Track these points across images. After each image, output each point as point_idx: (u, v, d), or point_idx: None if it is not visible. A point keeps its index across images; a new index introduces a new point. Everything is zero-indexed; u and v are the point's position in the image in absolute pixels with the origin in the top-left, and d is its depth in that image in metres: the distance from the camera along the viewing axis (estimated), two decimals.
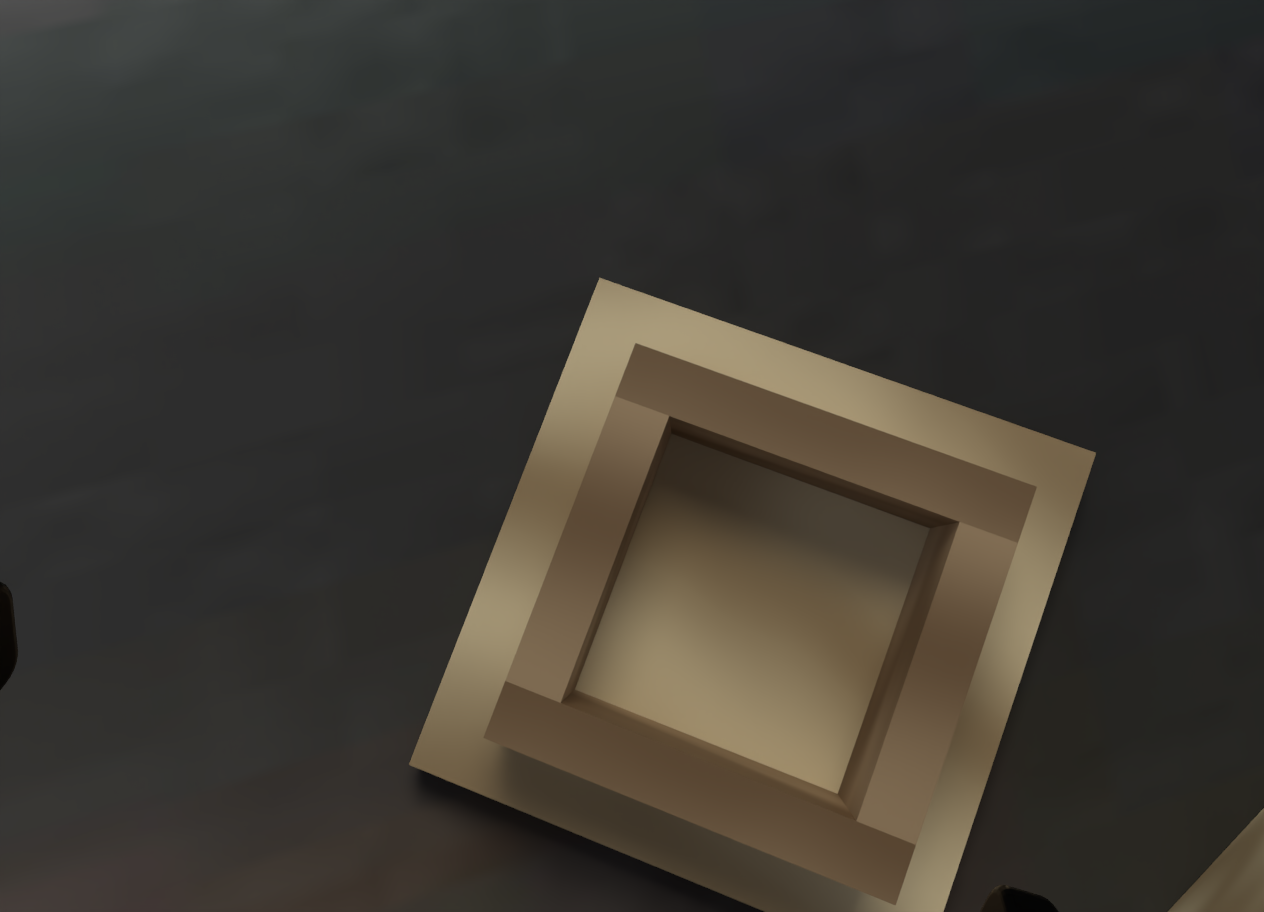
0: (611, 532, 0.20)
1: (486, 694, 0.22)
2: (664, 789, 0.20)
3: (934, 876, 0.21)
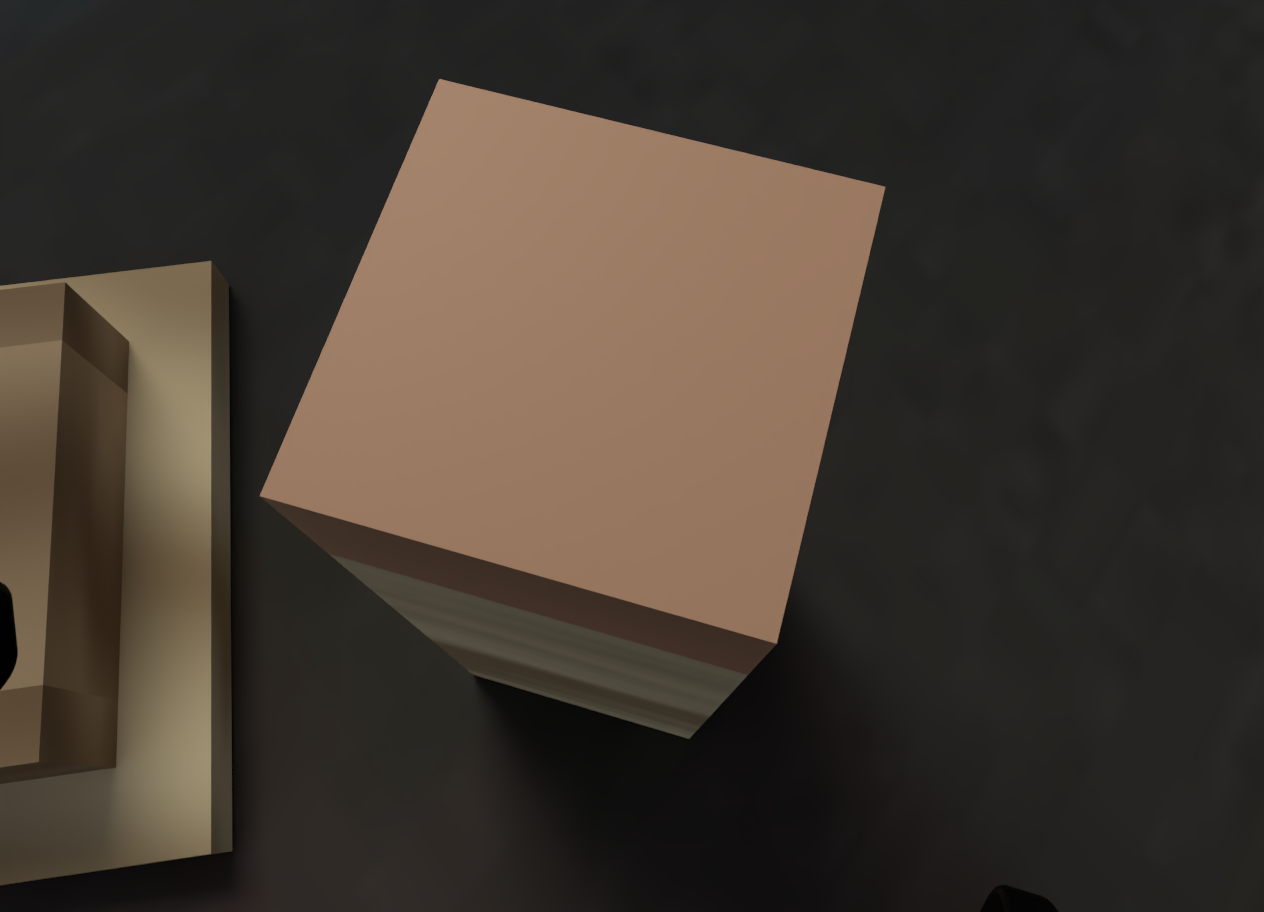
0: None
1: None
2: None
3: (188, 738, 0.18)
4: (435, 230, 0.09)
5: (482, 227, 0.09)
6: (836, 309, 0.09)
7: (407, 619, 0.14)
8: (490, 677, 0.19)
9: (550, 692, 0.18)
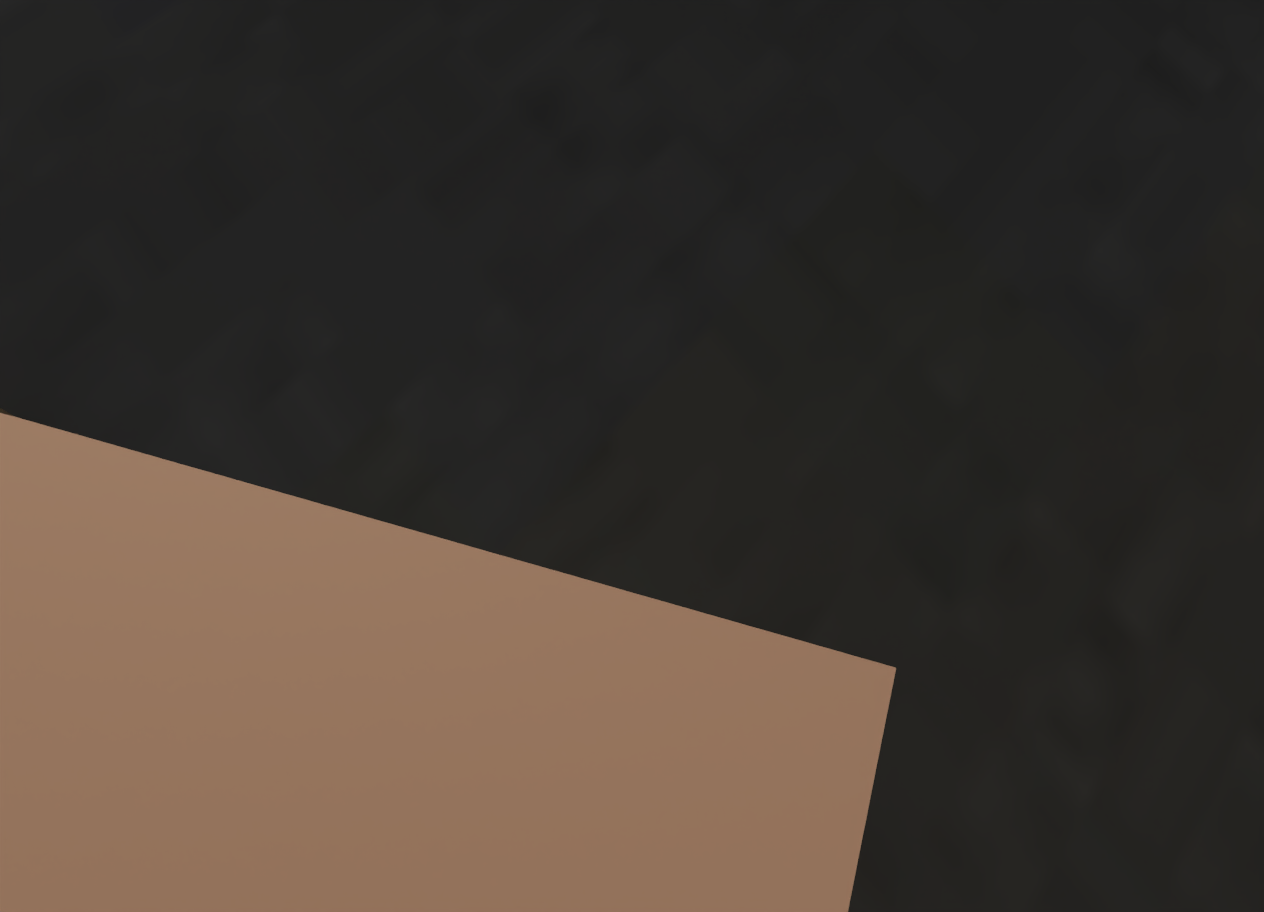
0: None
1: None
2: None
3: None
4: None
5: None
6: None
7: None
8: None
9: None
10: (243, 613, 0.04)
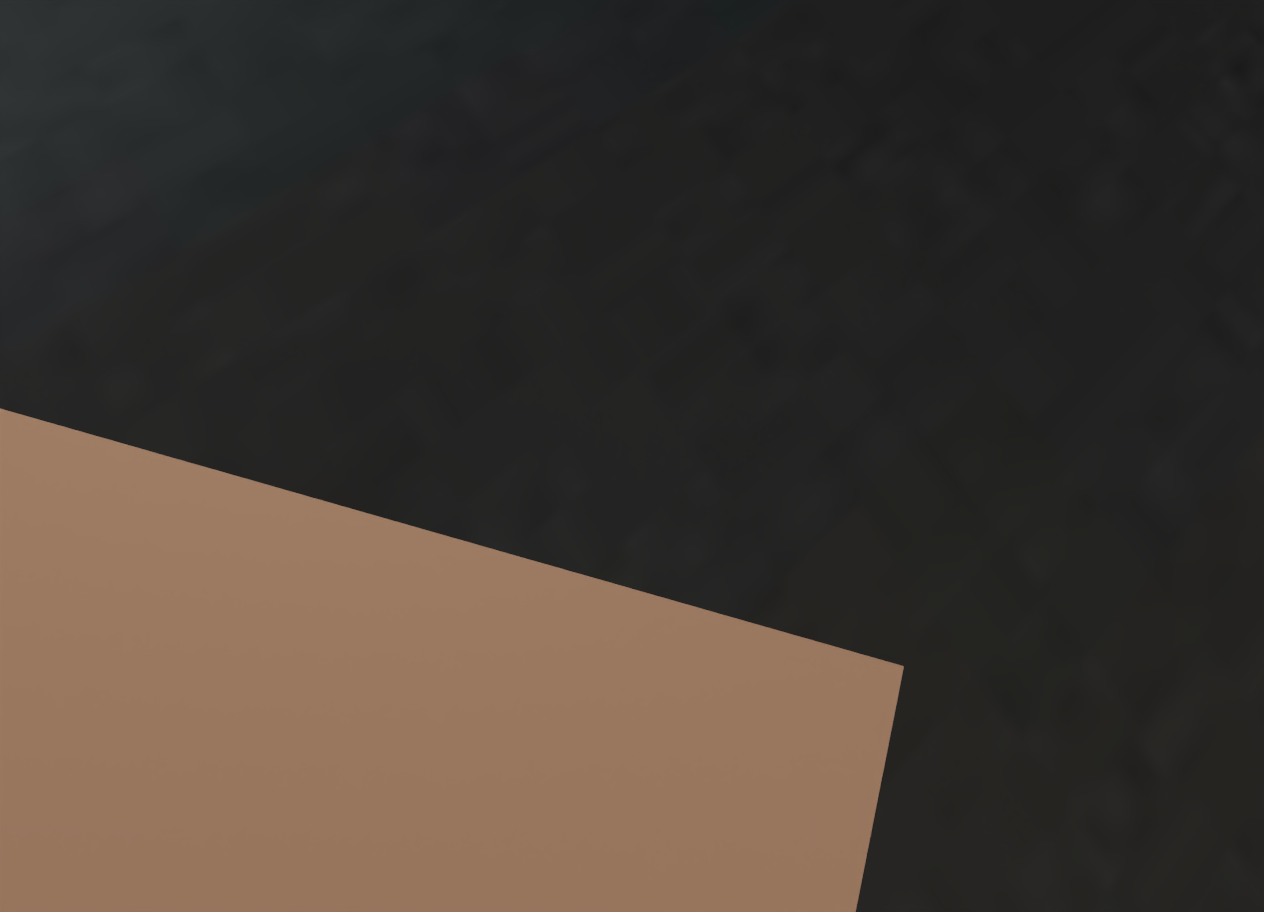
0: None
1: None
2: None
3: None
4: None
5: None
6: None
7: None
8: None
9: None
10: (251, 612, 0.04)
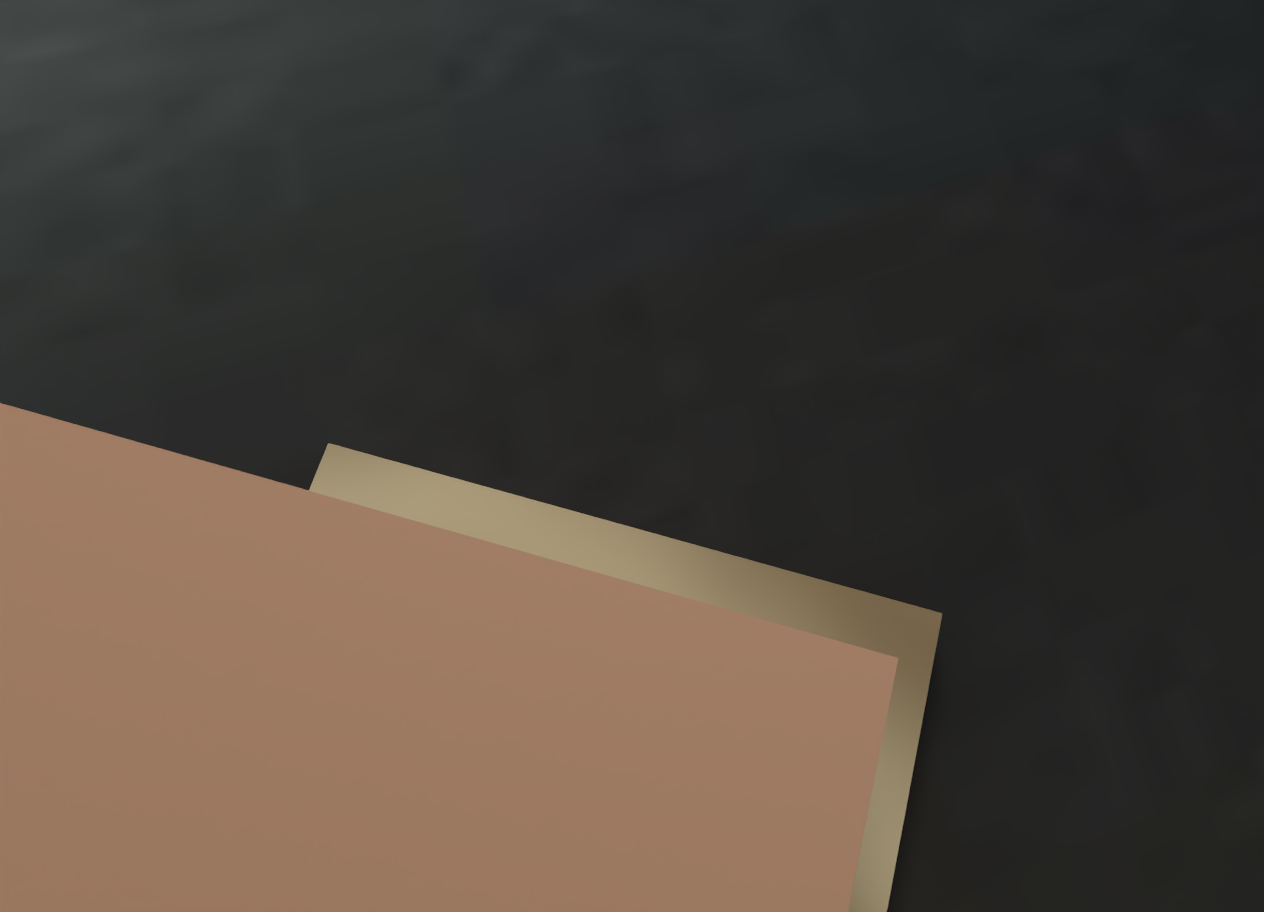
0: None
1: None
2: None
3: None
4: None
5: None
6: None
7: None
8: None
9: None
10: (245, 604, 0.04)
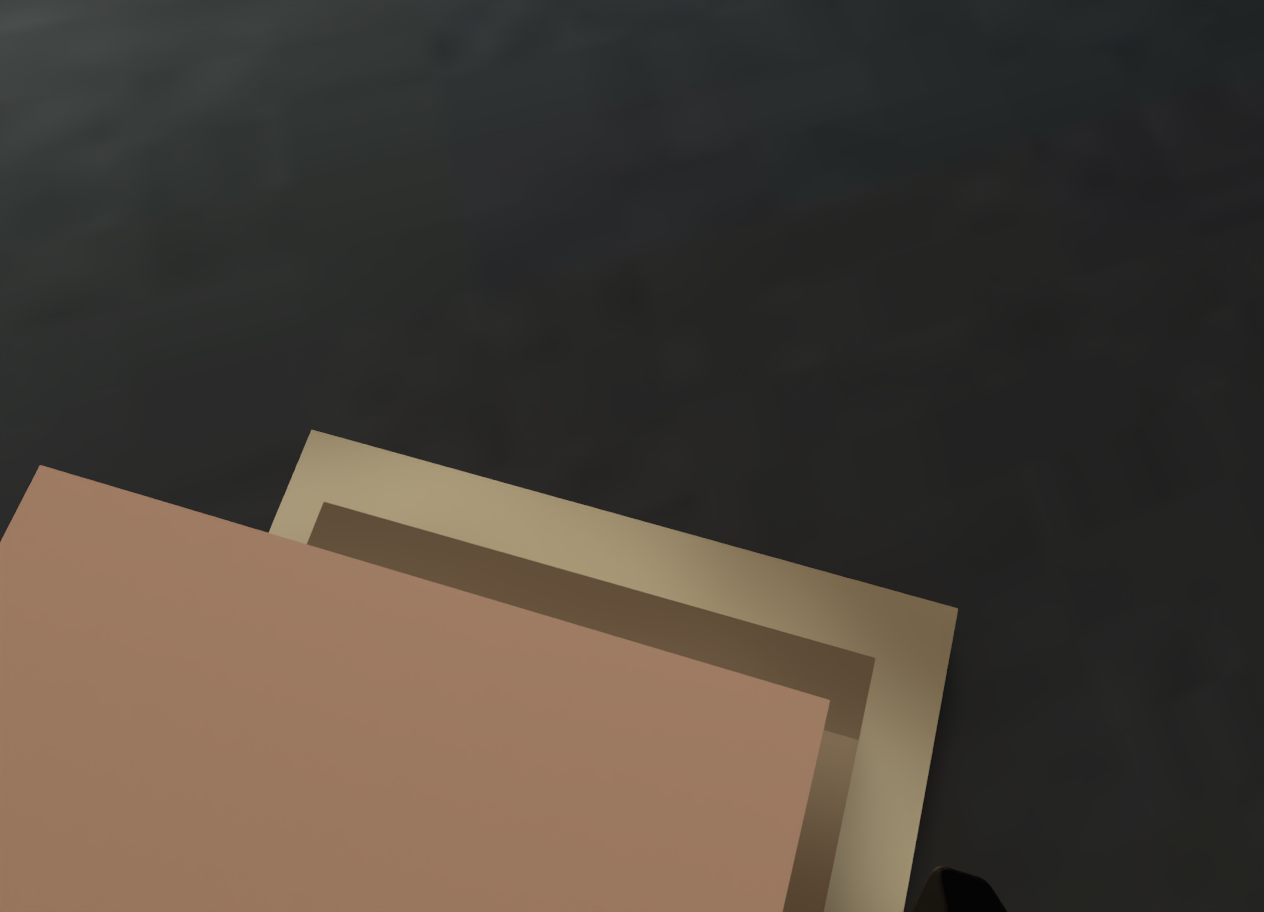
0: None
1: None
2: None
3: None
4: None
5: (75, 786, 0.05)
6: None
7: None
8: None
9: None
10: (356, 656, 0.05)
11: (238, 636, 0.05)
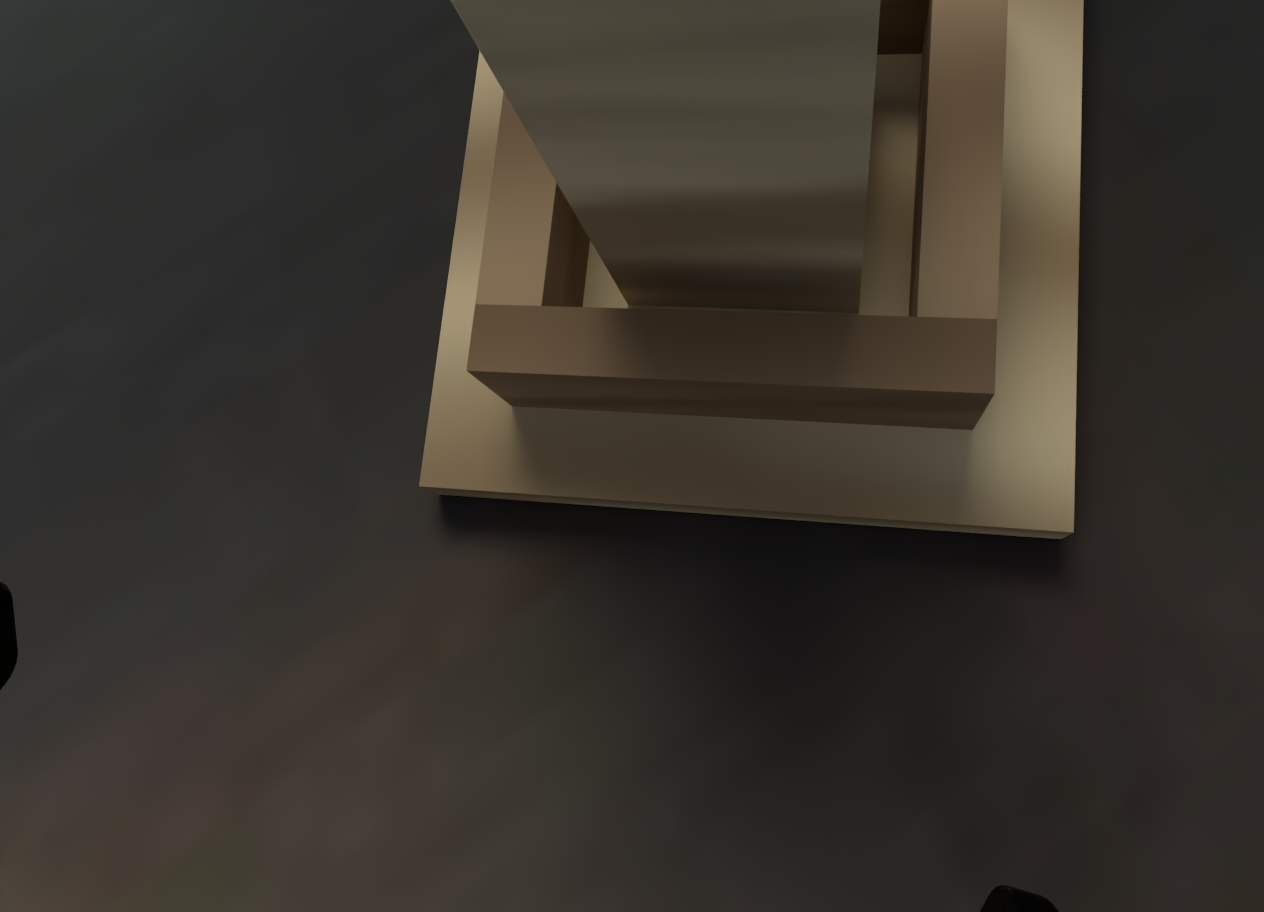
0: None
1: (483, 386, 0.20)
2: (682, 357, 0.16)
3: (1051, 415, 0.17)
4: None
5: None
6: None
7: (536, 146, 0.13)
8: (644, 295, 0.19)
9: (706, 285, 0.18)
10: None
11: None
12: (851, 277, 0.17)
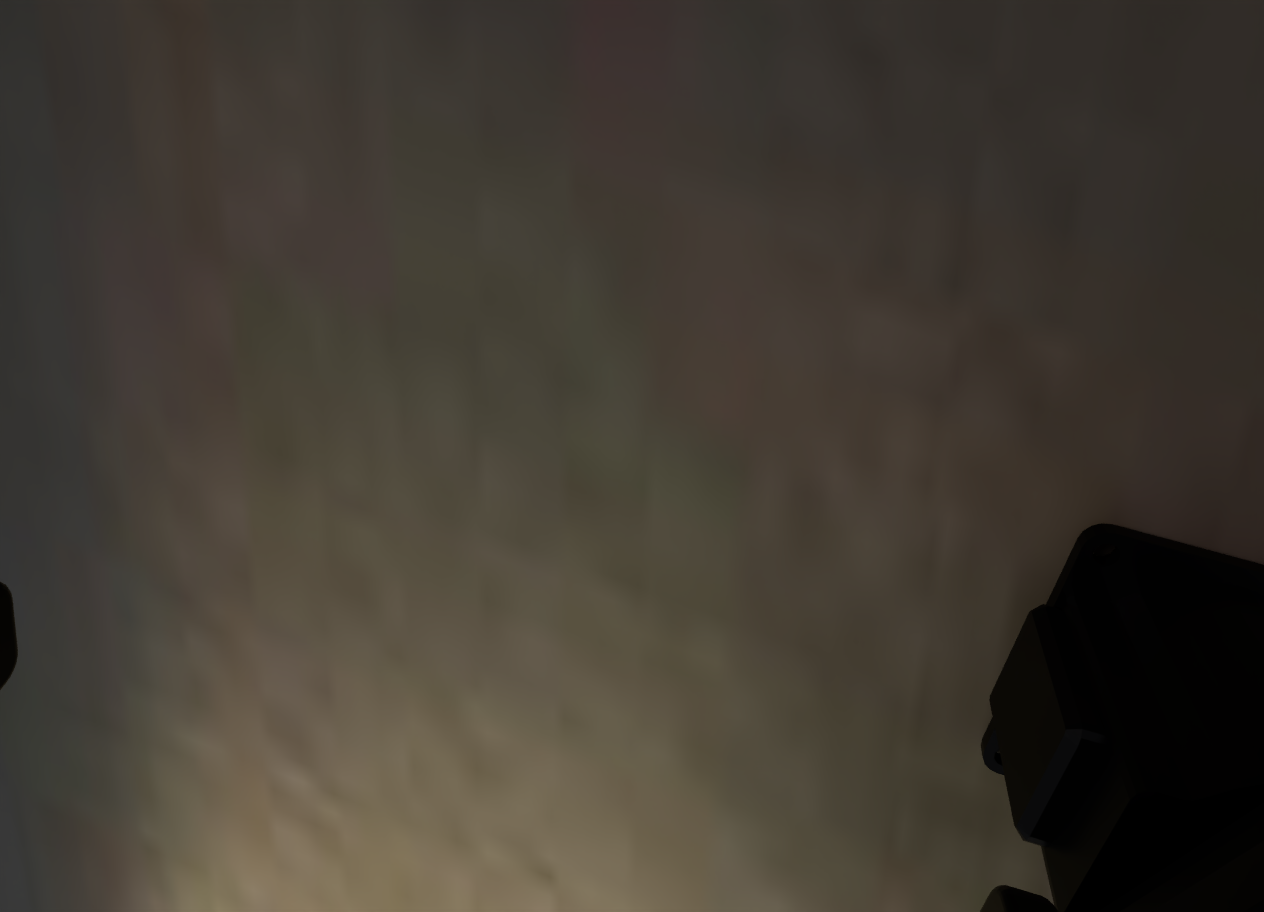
0: None
1: None
2: None
3: None
4: None
5: None
6: None
7: None
8: None
9: None
10: None
11: None
12: None
